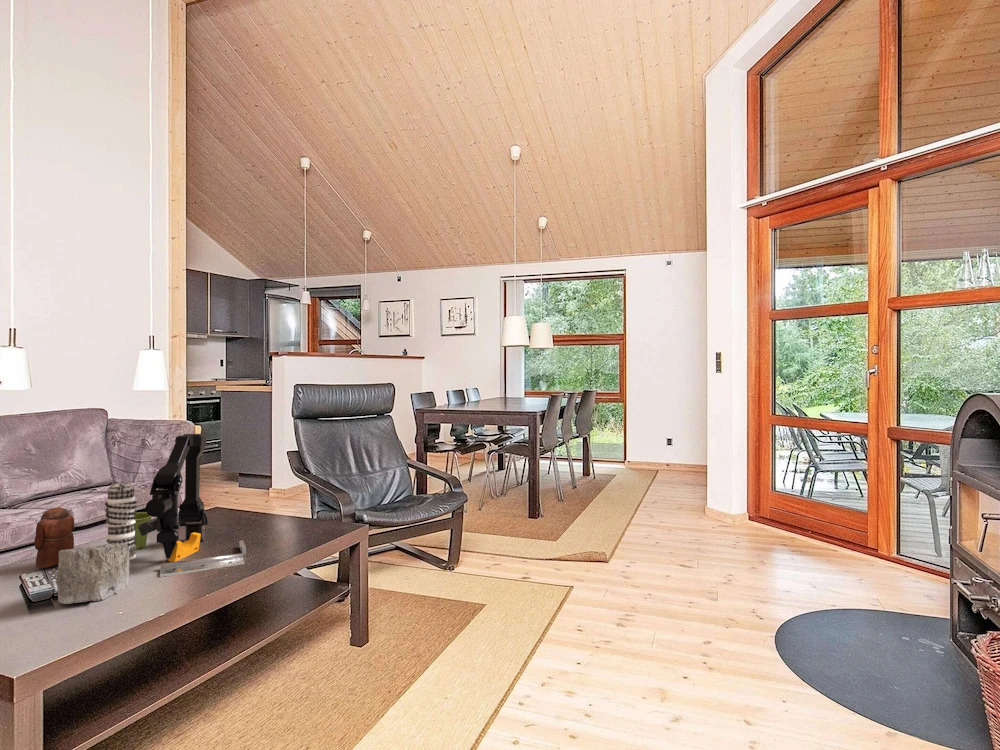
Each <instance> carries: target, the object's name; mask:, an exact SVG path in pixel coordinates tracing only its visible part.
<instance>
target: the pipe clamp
mask: <svg viewBox="0 0 1000 750" xmlns="http://www.w3.org/2000/svg"><path fill="white" fill-rule="evenodd" d="M200 537H201V534H200V533H196V532H194V533H191V535H190V538H189V540H188V541H185V542H184V541H183V542H182V541H180V540H178V541H177V543H176V545H175V547H174V550H173V552H172V554H171V557H170V558H168V560H167V562H175V561H176V562H178V561H181V559H183V558H186V557H188V556H190V555H192V554H195V553H196V552H198V551H199V549H200V543H201V542H200Z"/></svg>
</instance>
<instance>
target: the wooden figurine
mask: <svg viewBox="0 0 1000 750" xmlns="http://www.w3.org/2000/svg"><path fill="white" fill-rule="evenodd" d="M35 527H36V528H35V537H34V548H35V549H36V550H37V552H36V558H35V568H41V569H42V568H45V569H46V568H50V567H54V566H58V564H59V556H58V555H59V551H61V550H68V549H75V538H74V533H73V532H74V530H75V529H76V528H75V527H76V526H75V518H74V516H73V515H71V514H70V512H69V511H68V510H67V509H66V508H63V507H52V508H49V509H47V510H46V511H44V512H43V514H42V515H41V517H40V520H39V521H38V522H37V524H36V525H35Z"/></svg>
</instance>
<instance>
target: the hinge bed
mask: <svg viewBox="0 0 1000 750" xmlns="http://www.w3.org/2000/svg"><path fill="white" fill-rule="evenodd" d="M238 547H239V551H240V553H235V554H225V555H218V556H212V557H211V556H210V557H202V558H201V557H200V558H194V559H187V560H178V561H176V562H171V561H169V562H164V563H163V562H162V563H160V569H159V570H160V571H159V572H160V573H159V577H160V578H163V577H164V576H165V577H171V576H172V577H173V576H178V574H179V575H185V574H191V573H196V572H197V571H198V572H203V571H208V570H217V569H221V568H228V567H236V566H240V565H246V564H245V563H246V562H245V560H244V556H247V547H246V544H245V542H244V540H243V539H242V540H239V545H238Z"/></svg>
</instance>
